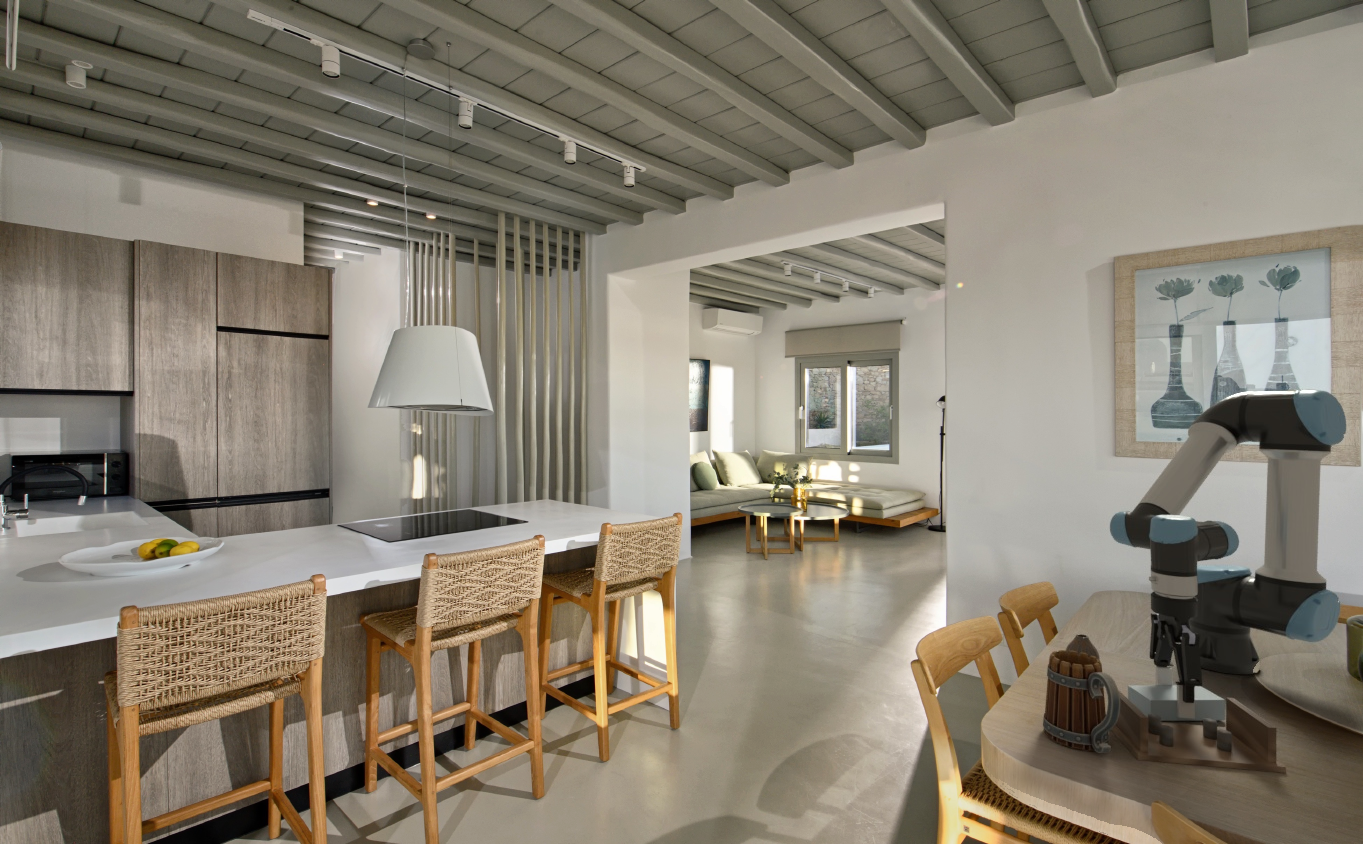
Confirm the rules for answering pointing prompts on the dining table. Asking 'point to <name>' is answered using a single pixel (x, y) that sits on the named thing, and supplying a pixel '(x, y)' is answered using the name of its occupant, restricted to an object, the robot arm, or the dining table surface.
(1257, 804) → the dining table surface
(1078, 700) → the mug
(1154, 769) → the dining table surface
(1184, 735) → the peg frame
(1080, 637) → the vase
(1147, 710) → the board
